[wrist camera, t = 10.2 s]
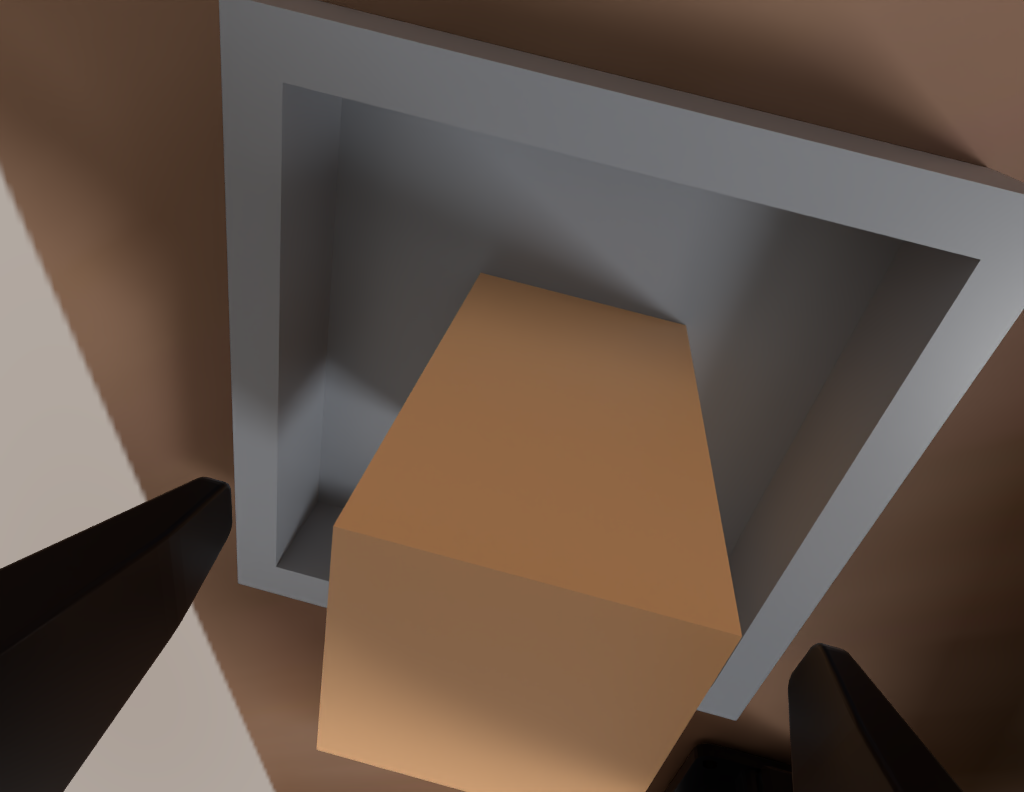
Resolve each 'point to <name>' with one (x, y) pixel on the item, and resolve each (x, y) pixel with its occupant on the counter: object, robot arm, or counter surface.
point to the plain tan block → (531, 557)
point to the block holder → (590, 281)
